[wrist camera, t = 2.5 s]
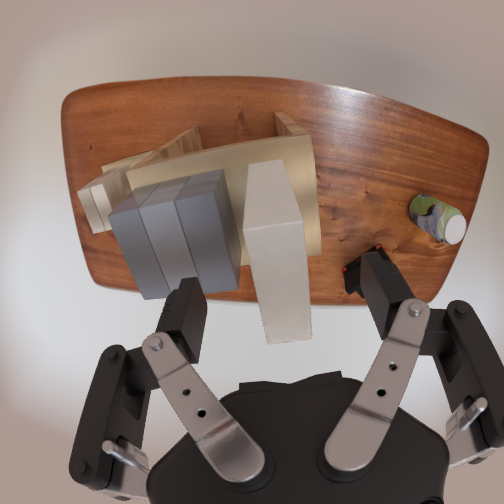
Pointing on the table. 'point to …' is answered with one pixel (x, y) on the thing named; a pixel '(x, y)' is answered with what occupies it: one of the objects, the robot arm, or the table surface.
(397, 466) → the robot arm
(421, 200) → the beverage can
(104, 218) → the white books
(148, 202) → the wooden stand
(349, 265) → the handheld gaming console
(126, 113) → the table surface
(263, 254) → the white book
